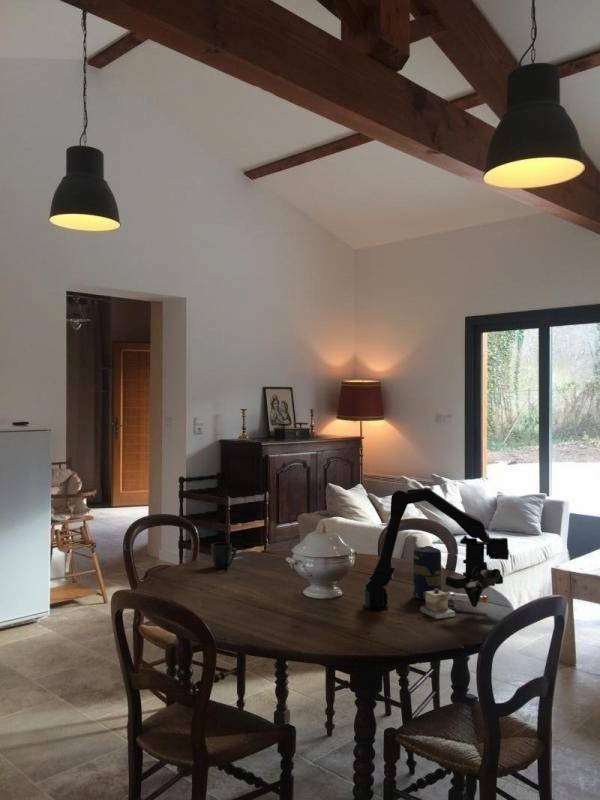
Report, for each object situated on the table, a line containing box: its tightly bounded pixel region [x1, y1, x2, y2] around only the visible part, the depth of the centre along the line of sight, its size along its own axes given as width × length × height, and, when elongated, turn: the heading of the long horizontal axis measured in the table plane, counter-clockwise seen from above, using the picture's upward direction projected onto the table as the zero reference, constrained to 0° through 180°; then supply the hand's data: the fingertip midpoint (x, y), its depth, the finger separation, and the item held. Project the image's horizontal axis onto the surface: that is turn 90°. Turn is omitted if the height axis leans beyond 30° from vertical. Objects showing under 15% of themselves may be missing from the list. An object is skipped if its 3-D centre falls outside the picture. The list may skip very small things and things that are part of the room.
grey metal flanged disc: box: [448, 600, 458, 610], centre depth 231 cm, size 4×4×2 cm
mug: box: [210, 541, 237, 569], centre depth 285 cm, size 8×12×10 cm
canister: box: [412, 545, 442, 601], centre depth 242 cm, size 10×10×18 cm
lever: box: [445, 591, 490, 605], centre depth 229 cm, size 3×14×2 cm, turn 68°
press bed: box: [420, 605, 456, 620], centre depth 224 cm, size 7×9×2 cm
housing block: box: [425, 588, 448, 611], centre depth 225 cm, size 5×5×6 cm
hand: (474, 606), depth 224 cm, fingers closed
